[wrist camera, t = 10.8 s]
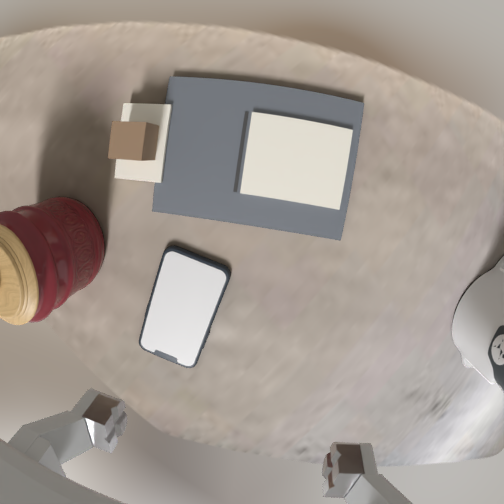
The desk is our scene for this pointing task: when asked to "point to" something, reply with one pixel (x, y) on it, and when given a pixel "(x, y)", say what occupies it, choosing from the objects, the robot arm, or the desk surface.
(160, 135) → the tan cube with base
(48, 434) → the robot arm
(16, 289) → the canister
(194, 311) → the smartphone
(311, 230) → the board
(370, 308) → the desk surface
